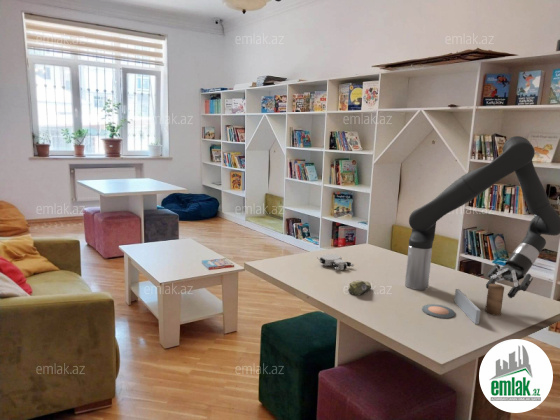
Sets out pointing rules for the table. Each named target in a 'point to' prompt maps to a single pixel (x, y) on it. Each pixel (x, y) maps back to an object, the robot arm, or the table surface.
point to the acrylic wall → (467, 306)
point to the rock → (359, 287)
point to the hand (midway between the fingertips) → (498, 292)
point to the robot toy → (334, 261)
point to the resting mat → (438, 311)
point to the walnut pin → (494, 299)
